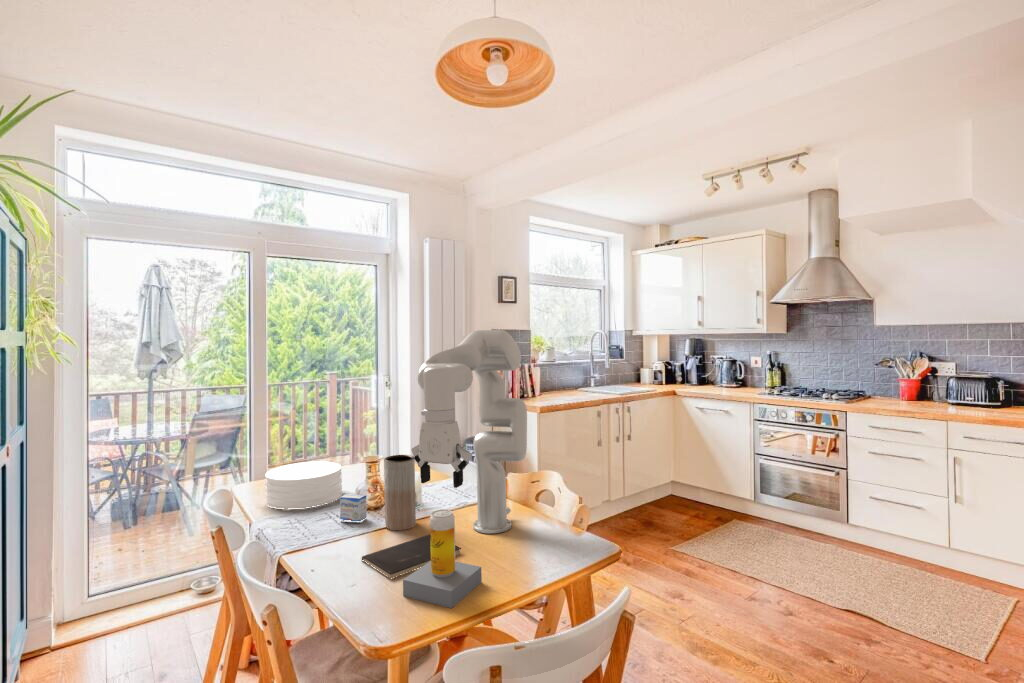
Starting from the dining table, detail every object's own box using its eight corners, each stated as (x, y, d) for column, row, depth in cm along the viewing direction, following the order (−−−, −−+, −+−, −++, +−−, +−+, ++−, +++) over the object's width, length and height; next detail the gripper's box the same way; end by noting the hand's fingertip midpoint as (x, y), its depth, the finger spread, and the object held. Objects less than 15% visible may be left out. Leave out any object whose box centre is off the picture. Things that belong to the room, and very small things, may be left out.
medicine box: (339, 522, 179) (339, 497, 179) (346, 517, 184) (346, 493, 184) (360, 524, 178) (359, 498, 177) (367, 519, 182) (366, 494, 182)
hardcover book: (461, 555, 152) (461, 547, 152) (390, 582, 136) (390, 573, 136) (430, 540, 163) (429, 533, 163) (361, 563, 148) (361, 555, 148)
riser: (436, 572, 140) (435, 557, 140) (481, 582, 134) (481, 566, 134) (403, 595, 128) (402, 579, 127) (451, 608, 121) (451, 591, 121)
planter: (393, 533, 168) (392, 463, 168) (380, 525, 176) (378, 457, 176) (421, 525, 175) (419, 457, 174) (406, 518, 182) (405, 453, 182)
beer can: (428, 569, 133) (427, 510, 132) (452, 565, 135) (451, 507, 135) (433, 580, 127) (432, 518, 127) (458, 575, 129) (456, 515, 129)
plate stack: (266, 494, 214) (265, 466, 214) (337, 485, 226) (337, 458, 226) (265, 515, 189) (264, 483, 188) (346, 503, 200) (345, 473, 200)
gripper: (402, 416, 131) (404, 484, 131) (461, 420, 123) (463, 492, 123) (420, 411, 137) (422, 476, 138) (477, 415, 130) (479, 483, 130)
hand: (441, 484), depth 131 cm, fingers open, 9 cm apart
